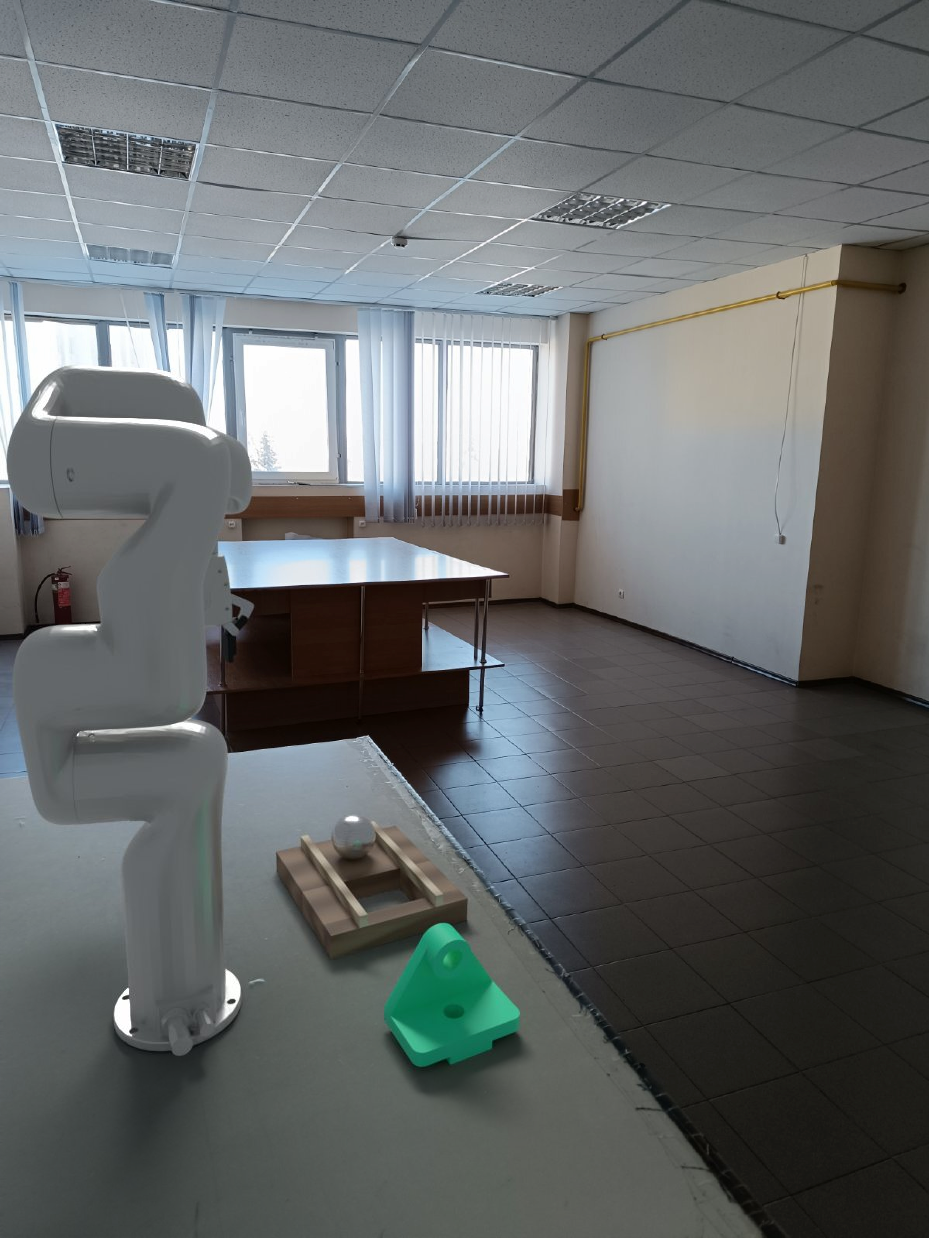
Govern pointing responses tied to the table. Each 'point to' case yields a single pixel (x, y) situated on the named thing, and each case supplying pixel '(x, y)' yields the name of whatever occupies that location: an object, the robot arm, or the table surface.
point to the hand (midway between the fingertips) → (194, 664)
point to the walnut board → (368, 891)
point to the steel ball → (353, 836)
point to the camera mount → (447, 1002)
